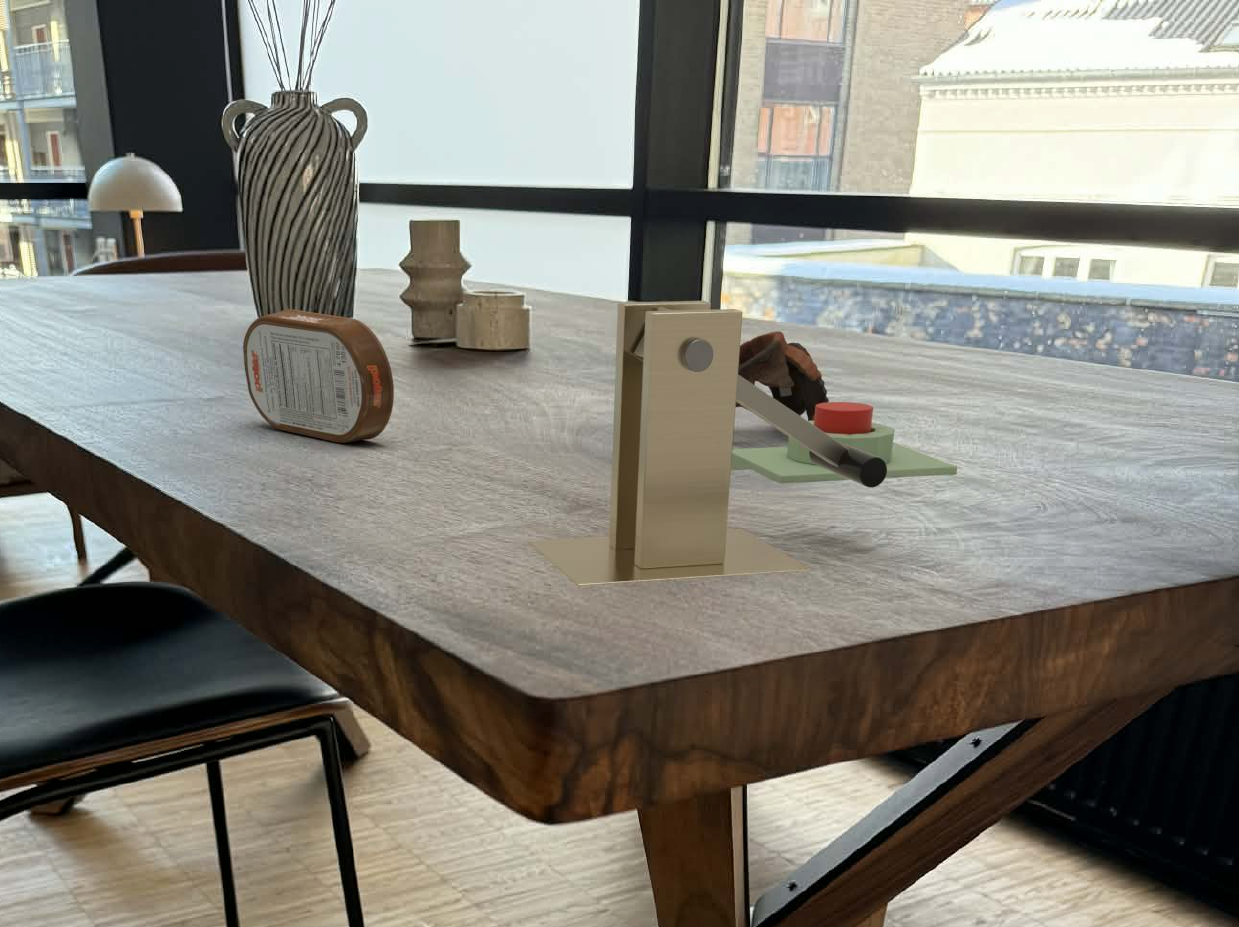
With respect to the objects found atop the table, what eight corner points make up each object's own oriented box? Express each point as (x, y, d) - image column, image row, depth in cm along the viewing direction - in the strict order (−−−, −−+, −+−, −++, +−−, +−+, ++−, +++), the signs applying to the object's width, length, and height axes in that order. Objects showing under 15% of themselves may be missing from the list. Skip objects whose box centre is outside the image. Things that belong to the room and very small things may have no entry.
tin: (399, 446, 110) (395, 320, 106) (365, 451, 108) (360, 323, 104) (274, 420, 119) (266, 304, 115) (241, 425, 117) (231, 307, 113)
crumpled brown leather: (826, 459, 108) (776, 353, 104) (713, 505, 114) (663, 406, 110) (867, 391, 116) (822, 290, 112) (759, 438, 122) (713, 343, 118)
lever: (818, 478, 80) (844, 436, 79) (870, 501, 75) (898, 457, 74) (620, 348, 74) (645, 301, 73) (661, 364, 69) (689, 314, 68)
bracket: (740, 552, 82) (760, 295, 76) (809, 595, 75) (838, 313, 68) (527, 565, 80) (530, 300, 73) (577, 611, 72) (584, 319, 66)
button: (854, 429, 99) (857, 400, 98) (879, 438, 96) (883, 409, 95) (803, 431, 98) (806, 402, 97) (827, 441, 95) (830, 411, 94)
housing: (888, 467, 103) (894, 413, 102) (954, 494, 96) (962, 436, 94) (723, 475, 101) (727, 420, 99) (778, 503, 93) (783, 444, 91)
